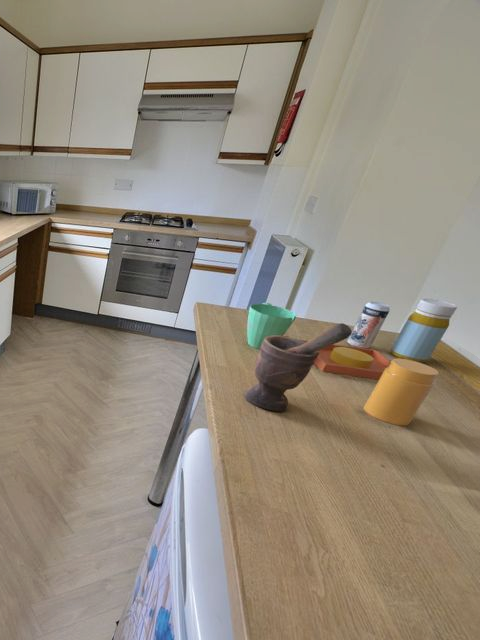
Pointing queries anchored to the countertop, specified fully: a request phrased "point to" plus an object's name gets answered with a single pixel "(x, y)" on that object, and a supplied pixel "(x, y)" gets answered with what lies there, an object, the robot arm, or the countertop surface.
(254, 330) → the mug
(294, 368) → the mortar and pestle
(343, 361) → the jar lid
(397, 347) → the bottle
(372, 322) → the beer can
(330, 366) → the tray
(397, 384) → the jam jar
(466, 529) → the countertop surface
